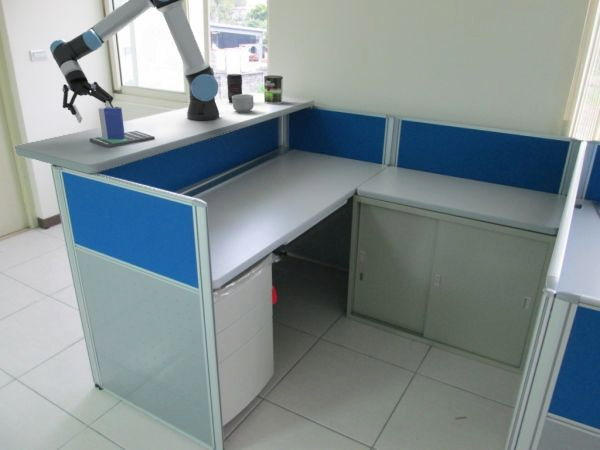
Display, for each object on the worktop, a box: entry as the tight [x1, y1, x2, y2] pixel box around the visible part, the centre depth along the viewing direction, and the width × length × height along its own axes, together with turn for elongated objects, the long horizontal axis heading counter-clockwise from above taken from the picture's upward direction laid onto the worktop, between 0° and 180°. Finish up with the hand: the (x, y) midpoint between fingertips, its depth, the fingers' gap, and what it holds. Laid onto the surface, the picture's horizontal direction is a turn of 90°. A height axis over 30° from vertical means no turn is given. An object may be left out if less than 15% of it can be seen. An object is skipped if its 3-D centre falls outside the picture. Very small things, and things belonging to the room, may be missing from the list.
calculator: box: [89, 130, 156, 149], centre depth 198 cm, size 20×14×1 cm
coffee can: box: [263, 74, 284, 105], centre depth 280 cm, size 10×10×14 cm
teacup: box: [231, 93, 254, 114], centre depth 257 cm, size 14×11×8 cm
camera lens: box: [226, 73, 243, 104], centre depth 278 cm, size 8×8×15 cm
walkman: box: [98, 106, 126, 139], centre depth 193 cm, size 8×3×12 cm, turn 94°
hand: (97, 118), depth 200 cm, fingers open, 13 cm apart
